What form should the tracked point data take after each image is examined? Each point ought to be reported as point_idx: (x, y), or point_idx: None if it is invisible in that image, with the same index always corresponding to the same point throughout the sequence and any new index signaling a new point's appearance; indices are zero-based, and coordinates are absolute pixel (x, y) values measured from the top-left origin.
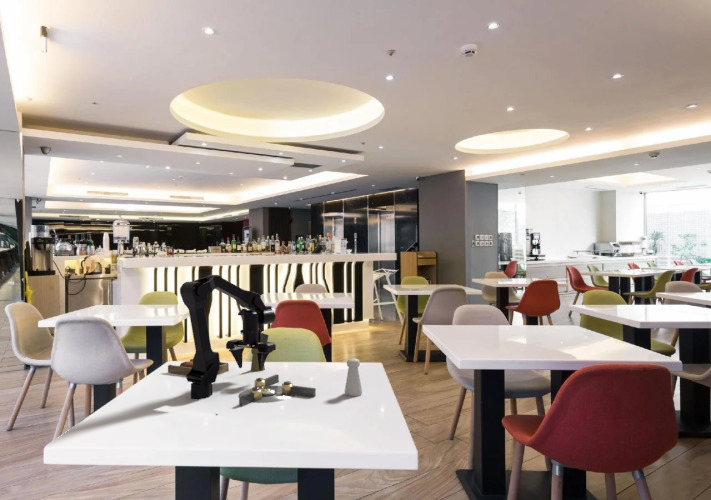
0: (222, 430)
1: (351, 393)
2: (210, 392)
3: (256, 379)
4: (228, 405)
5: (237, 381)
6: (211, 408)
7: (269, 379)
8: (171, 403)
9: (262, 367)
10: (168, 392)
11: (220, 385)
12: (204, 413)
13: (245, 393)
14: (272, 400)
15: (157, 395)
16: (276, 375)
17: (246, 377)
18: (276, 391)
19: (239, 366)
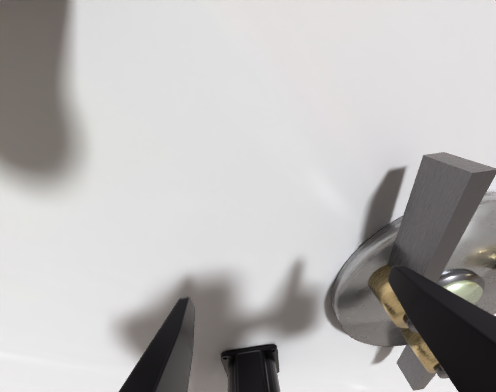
0: (403, 385)
1: None
2: (272, 377)
3: (412, 331)
4: (341, 345)
5: (136, 195)
6: (316, 365)
7: (444, 254)
8: (203, 386)
9: (424, 285)
10: (94, 371)
11: (142, 274)
12: (323, 377)
13: (360, 320)
14: None
15: (104, 386)
16: (483, 191)
17: (75, 87)
18: (483, 282)
19: (192, 330)
